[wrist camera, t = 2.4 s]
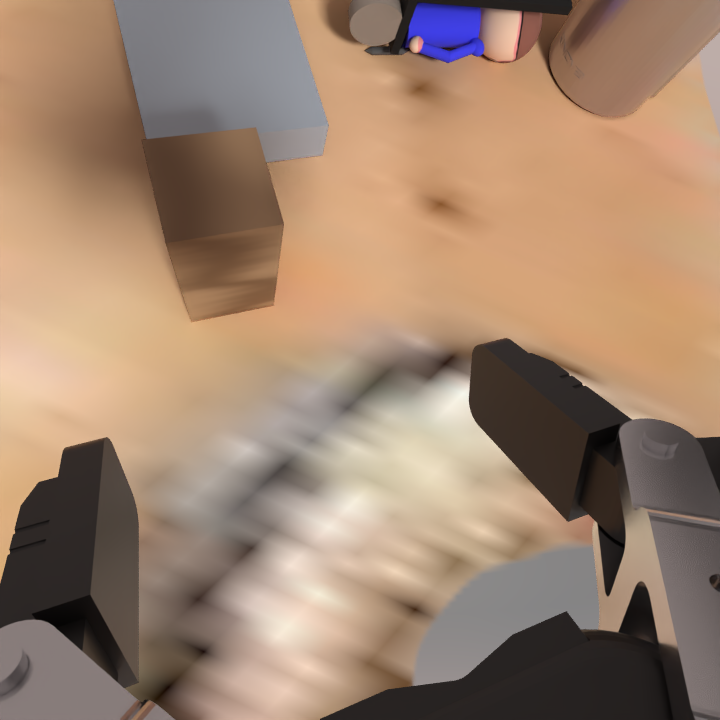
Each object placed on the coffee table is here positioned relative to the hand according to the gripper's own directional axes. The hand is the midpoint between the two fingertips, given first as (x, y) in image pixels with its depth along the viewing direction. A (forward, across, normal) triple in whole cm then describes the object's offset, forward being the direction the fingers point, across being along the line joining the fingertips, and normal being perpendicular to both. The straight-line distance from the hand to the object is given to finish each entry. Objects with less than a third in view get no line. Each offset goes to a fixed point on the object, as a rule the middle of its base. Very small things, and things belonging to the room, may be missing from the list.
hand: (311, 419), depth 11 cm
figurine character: (+34, -20, -6) cm, 40 cm away
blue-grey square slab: (+31, -3, -4) cm, 32 cm away
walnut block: (+22, 0, +5) cm, 23 cm away
